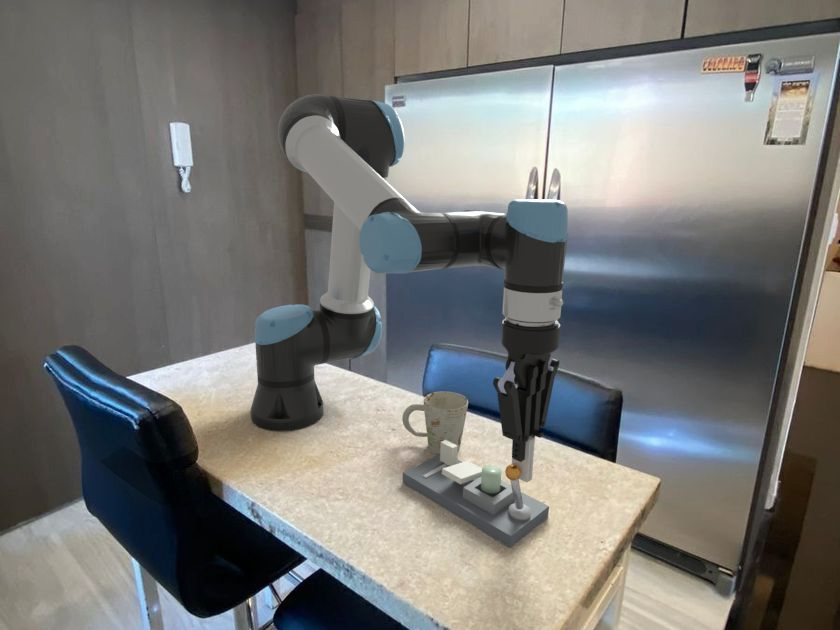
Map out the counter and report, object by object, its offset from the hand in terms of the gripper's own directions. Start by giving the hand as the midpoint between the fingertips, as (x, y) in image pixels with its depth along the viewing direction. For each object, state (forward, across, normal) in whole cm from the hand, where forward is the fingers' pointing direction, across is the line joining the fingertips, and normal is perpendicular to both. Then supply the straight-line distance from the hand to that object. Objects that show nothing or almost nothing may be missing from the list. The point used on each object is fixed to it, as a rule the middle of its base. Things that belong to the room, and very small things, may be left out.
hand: (521, 477), depth 75 cm
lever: (+6, +1, 0) cm, 6 cm away
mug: (+9, +9, +25) cm, 28 cm away
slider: (+7, +3, +17) cm, 18 cm away
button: (+5, +1, +6) cm, 8 cm away
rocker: (+5, +1, +11) cm, 13 cm away
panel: (+9, +1, +10) cm, 13 cm away
